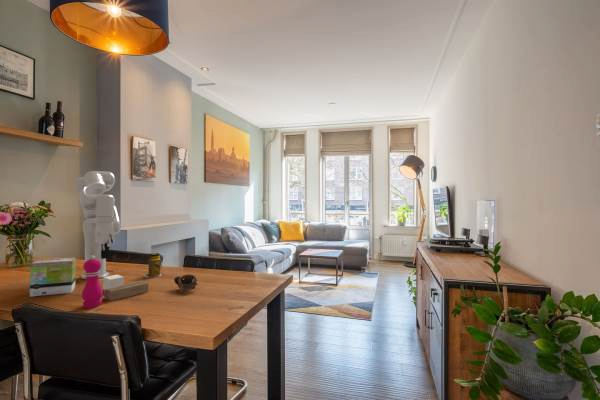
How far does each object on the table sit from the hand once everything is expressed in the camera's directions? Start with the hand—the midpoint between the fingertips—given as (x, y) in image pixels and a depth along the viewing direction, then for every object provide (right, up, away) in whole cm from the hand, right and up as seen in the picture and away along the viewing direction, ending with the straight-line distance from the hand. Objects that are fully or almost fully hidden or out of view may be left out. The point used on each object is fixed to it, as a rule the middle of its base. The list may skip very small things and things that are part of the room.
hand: (105, 258), depth 152 cm
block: (+7, -14, -5) cm, 16 cm away
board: (+17, -14, -12) cm, 25 cm away
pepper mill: (+11, -14, -26) cm, 32 cm away
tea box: (-18, -14, -9) cm, 24 cm away
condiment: (+13, -14, +22) cm, 29 cm away
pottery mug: (+40, -14, -4) cm, 43 cm away
